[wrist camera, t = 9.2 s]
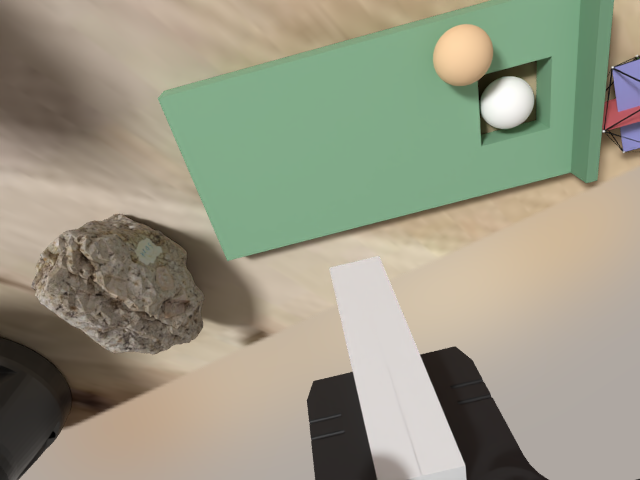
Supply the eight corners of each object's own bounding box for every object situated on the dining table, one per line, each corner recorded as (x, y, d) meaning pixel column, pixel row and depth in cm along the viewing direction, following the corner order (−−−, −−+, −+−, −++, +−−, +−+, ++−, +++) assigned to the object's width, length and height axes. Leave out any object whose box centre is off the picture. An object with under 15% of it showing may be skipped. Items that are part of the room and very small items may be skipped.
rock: (257, 317, 34) (186, 400, 34) (216, 256, 42) (158, 322, 42) (87, 216, 25) (-9, 327, 25) (76, 163, 33) (4, 247, 33)
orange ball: (428, 85, 30) (446, 98, 27) (422, 29, 28) (440, 37, 25) (480, 71, 30) (504, 83, 27) (478, 14, 28) (502, 20, 25)
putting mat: (229, 247, 38) (225, 275, 34) (164, 90, 31) (150, 106, 27) (566, 160, 36) (597, 180, 33) (575, -23, 30) (615, -22, 26)
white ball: (526, 137, 30) (539, 116, 33) (525, 85, 29) (540, 67, 31) (474, 136, 32) (490, 117, 35) (470, 88, 31) (487, 71, 33)
